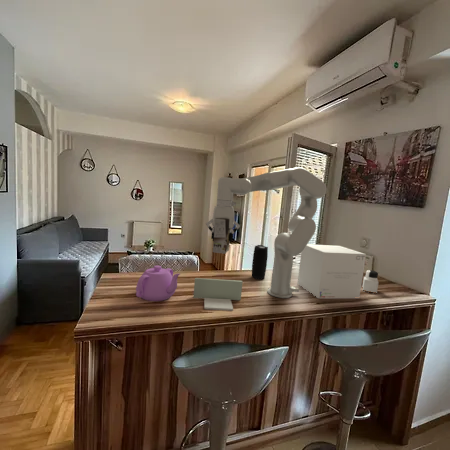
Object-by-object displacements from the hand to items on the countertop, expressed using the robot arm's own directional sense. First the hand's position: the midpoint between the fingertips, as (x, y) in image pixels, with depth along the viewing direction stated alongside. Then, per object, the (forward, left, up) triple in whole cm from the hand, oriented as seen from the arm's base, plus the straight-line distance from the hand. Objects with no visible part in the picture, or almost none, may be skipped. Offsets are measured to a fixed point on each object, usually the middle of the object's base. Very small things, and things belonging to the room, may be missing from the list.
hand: (221, 240), depth 127 cm
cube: (-63, -13, -27) cm, 69 cm away
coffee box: (0, 0, -5) cm, 5 cm away
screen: (0, +7, -26) cm, 27 cm away
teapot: (+26, +9, -26) cm, 38 cm away
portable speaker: (-27, -29, -26) cm, 47 cm away
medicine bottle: (-91, -17, -26) cm, 96 cm away
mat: (0, +14, -26) cm, 30 cm away
